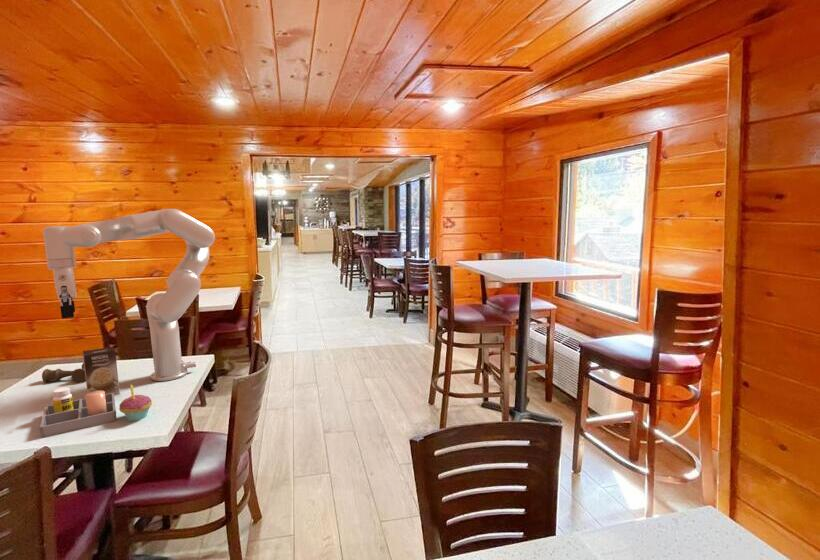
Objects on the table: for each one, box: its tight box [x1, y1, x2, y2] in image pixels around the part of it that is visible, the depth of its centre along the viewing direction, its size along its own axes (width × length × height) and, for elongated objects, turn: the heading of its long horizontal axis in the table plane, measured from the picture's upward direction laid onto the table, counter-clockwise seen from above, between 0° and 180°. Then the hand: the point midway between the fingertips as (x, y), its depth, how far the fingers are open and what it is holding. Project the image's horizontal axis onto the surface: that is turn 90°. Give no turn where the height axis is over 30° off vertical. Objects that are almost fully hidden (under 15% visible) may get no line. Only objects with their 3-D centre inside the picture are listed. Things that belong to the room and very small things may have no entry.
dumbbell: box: [41, 362, 86, 384], centre depth 178 cm, size 6×10×20 cm
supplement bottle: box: [52, 386, 74, 413], centre depth 143 cm, size 5×5×8 cm
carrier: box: [39, 393, 118, 439], centre depth 142 cm, size 18×18×4 cm
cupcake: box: [118, 383, 153, 422], centre depth 141 cm, size 9×8×12 cm
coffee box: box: [82, 346, 121, 396], centre depth 159 cm, size 9×6×16 cm
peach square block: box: [84, 391, 107, 416], centre depth 140 cm, size 5×5×8 cm
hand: (68, 315), depth 157 cm, fingers open, 9 cm apart
